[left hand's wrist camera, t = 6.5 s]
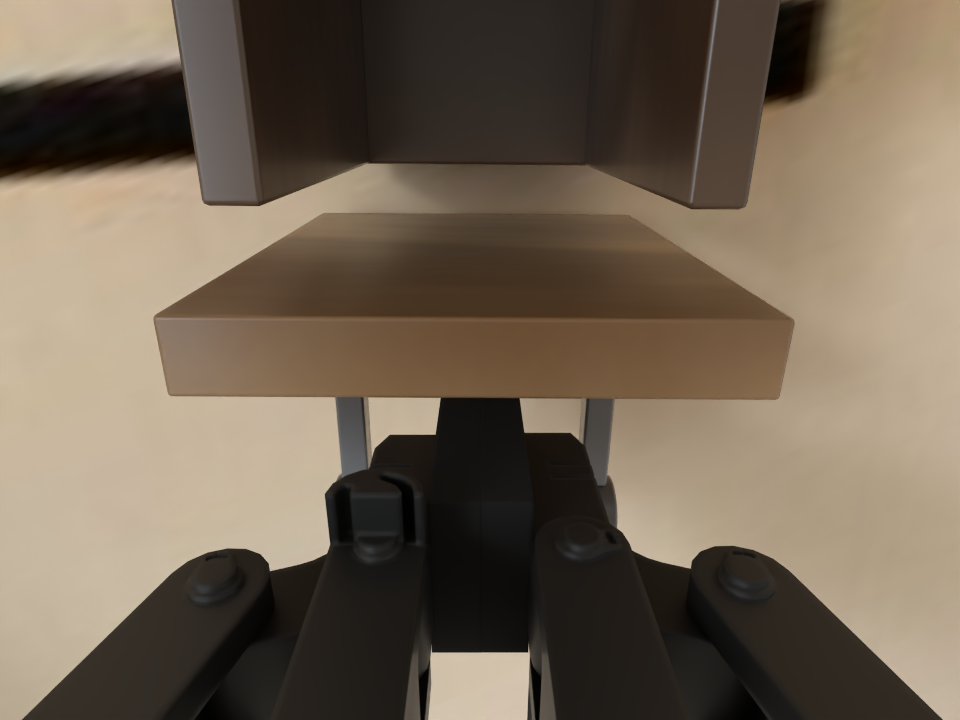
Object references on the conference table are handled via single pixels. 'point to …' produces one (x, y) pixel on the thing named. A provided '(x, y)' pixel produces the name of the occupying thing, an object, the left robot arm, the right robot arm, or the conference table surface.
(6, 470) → the conference table surface
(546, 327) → the drawer
